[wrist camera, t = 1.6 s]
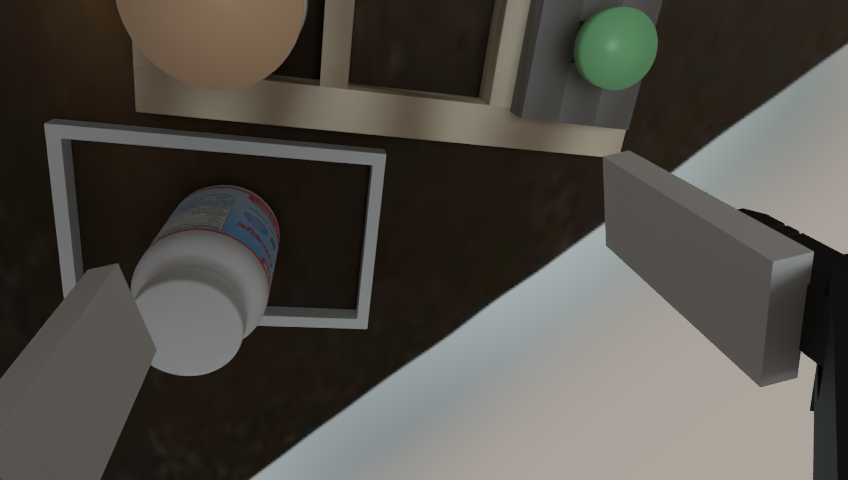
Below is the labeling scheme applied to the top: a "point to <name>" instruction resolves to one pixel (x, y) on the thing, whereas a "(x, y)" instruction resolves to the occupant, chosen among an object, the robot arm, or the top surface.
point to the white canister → (215, 37)
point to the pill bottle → (207, 278)
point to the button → (615, 47)
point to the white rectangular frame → (65, 130)
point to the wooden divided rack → (426, 111)
